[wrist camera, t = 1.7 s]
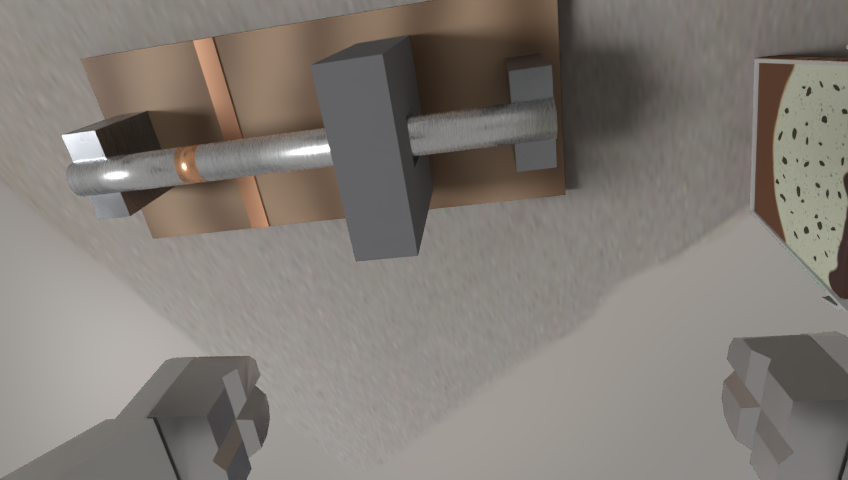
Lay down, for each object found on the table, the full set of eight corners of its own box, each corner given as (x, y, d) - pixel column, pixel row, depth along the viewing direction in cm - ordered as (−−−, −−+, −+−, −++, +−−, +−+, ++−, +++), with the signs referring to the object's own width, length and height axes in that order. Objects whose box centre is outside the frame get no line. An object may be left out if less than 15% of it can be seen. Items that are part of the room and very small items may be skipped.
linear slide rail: (540, 52, 29) (554, 68, 24) (545, 141, 31) (559, 173, 26) (118, 115, 33) (48, 140, 28) (147, 189, 35) (87, 226, 30)
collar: (409, 34, 29) (382, 54, 21) (433, 188, 33) (417, 255, 25) (356, 43, 29) (310, 65, 21) (386, 194, 33) (355, 261, 25)
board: (553, -20, 29) (556, -20, 28) (563, 188, 33) (565, 195, 33) (91, 57, 33) (79, 59, 32) (161, 232, 38) (152, 238, 37)
